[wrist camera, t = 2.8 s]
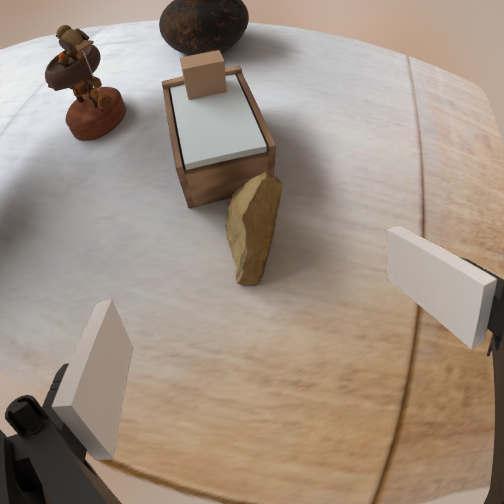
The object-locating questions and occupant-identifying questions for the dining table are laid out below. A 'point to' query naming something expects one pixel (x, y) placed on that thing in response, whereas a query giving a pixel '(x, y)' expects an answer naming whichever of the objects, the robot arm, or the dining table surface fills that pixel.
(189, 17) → the glass bottle
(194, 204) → the box
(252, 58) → the dining table surface
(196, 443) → the dining table surface
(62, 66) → the wooden bird figurine
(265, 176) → the rock
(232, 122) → the lid
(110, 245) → the dining table surface
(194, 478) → the dining table surface
